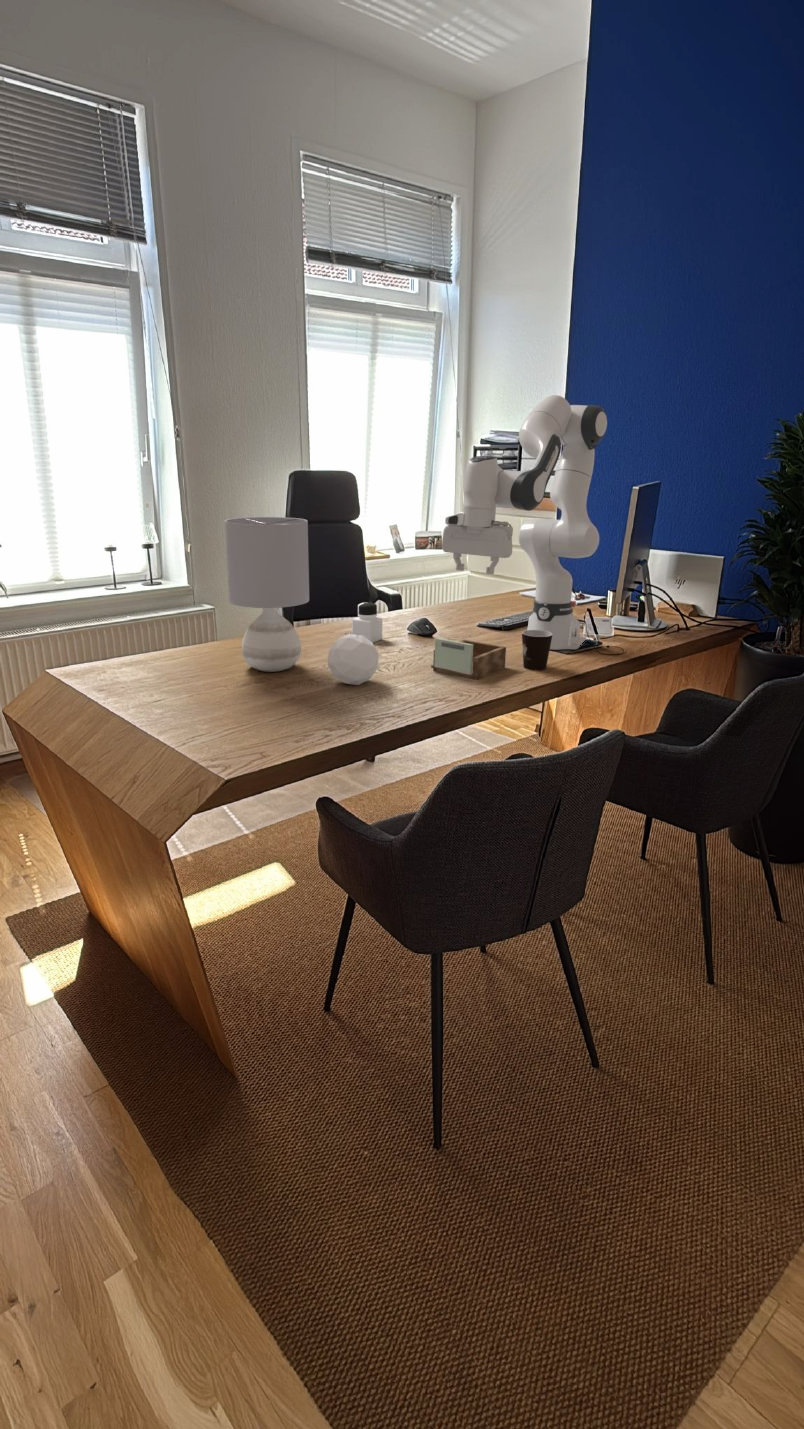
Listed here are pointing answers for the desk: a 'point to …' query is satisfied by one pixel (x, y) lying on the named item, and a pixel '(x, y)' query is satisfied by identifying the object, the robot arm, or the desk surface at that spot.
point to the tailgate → (453, 655)
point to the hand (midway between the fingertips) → (474, 572)
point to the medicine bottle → (368, 622)
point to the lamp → (268, 584)
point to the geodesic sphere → (353, 659)
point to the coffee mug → (536, 649)
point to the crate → (480, 660)
